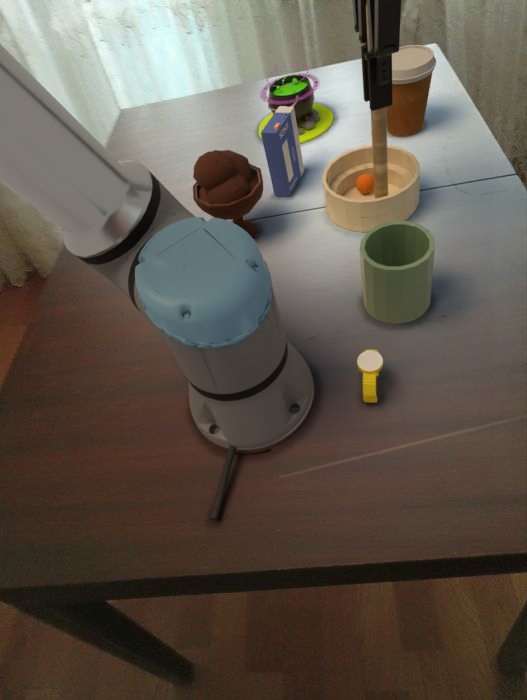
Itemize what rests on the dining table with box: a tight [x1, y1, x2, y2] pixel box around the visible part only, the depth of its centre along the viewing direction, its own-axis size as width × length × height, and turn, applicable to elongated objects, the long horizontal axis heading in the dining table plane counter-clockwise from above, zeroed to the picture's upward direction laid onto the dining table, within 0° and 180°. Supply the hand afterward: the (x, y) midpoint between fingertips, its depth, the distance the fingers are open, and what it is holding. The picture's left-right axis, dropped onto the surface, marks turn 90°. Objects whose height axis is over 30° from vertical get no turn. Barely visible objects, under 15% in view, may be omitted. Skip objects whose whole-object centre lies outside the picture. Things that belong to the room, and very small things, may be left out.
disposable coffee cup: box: [386, 44, 437, 137], centre depth 85 cm, size 10×10×12 cm
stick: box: [366, 4, 388, 199], centre depth 65 cm, size 2×2×26 cm
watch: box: [356, 349, 384, 404], centre depth 56 cm, size 6×3×6 cm, turn 170°
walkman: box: [261, 106, 305, 198], centre depth 82 cm, size 8×3×12 cm, turn 157°
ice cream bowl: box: [192, 149, 264, 240], centre depth 76 cm, size 11×11×15 cm
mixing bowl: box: [321, 144, 421, 233], centre depth 76 cm, size 14×14×6 cm
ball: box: [356, 174, 374, 193], centre depth 79 cm, size 3×3×3 cm
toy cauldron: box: [258, 60, 334, 144], centre depth 95 cm, size 15×15×11 cm
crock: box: [359, 220, 436, 325], centre depth 62 cm, size 8×8×10 cm
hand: (377, 101), depth 64 cm, fingers closed on stick, 2 cm apart
